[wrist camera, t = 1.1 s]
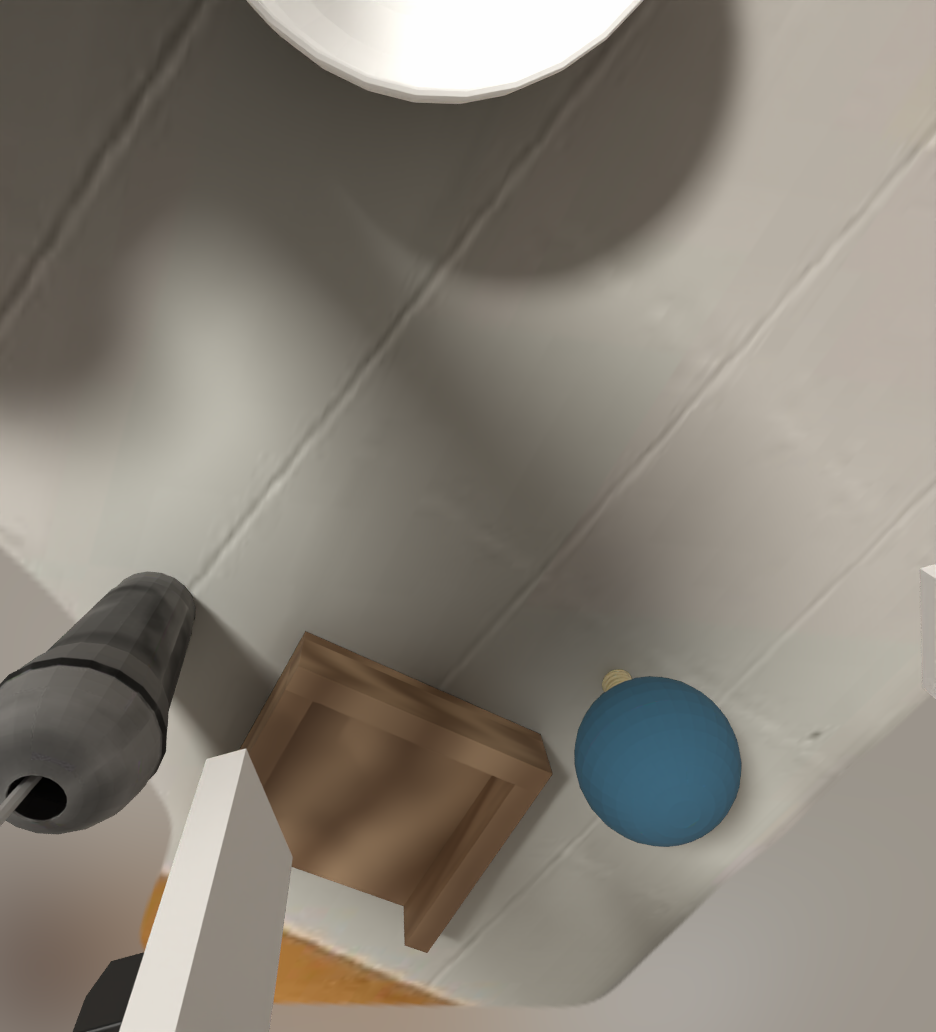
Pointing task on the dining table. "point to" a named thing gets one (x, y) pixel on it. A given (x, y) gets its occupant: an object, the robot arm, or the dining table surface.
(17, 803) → the beverage cup
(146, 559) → the dining table surface
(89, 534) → the dining table surface
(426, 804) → the u rest
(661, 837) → the light bulb
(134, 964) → the robot arm
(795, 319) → the dining table surface
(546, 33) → the bowl
